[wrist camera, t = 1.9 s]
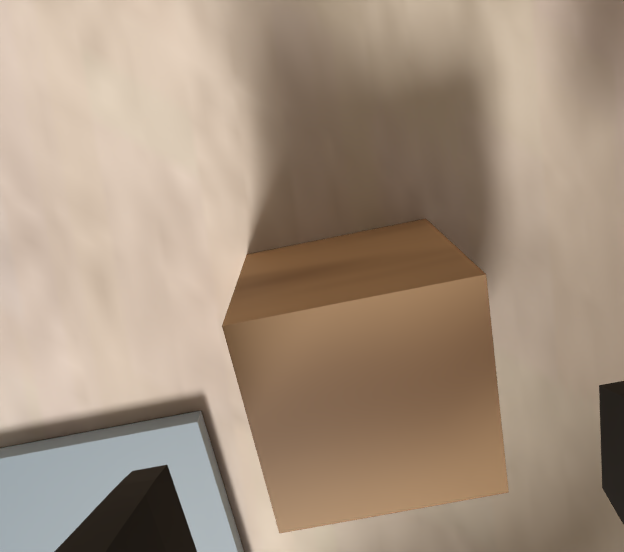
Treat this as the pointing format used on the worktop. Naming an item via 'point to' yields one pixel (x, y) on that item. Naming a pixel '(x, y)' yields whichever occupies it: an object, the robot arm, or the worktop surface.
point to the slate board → (111, 481)
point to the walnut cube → (367, 375)
